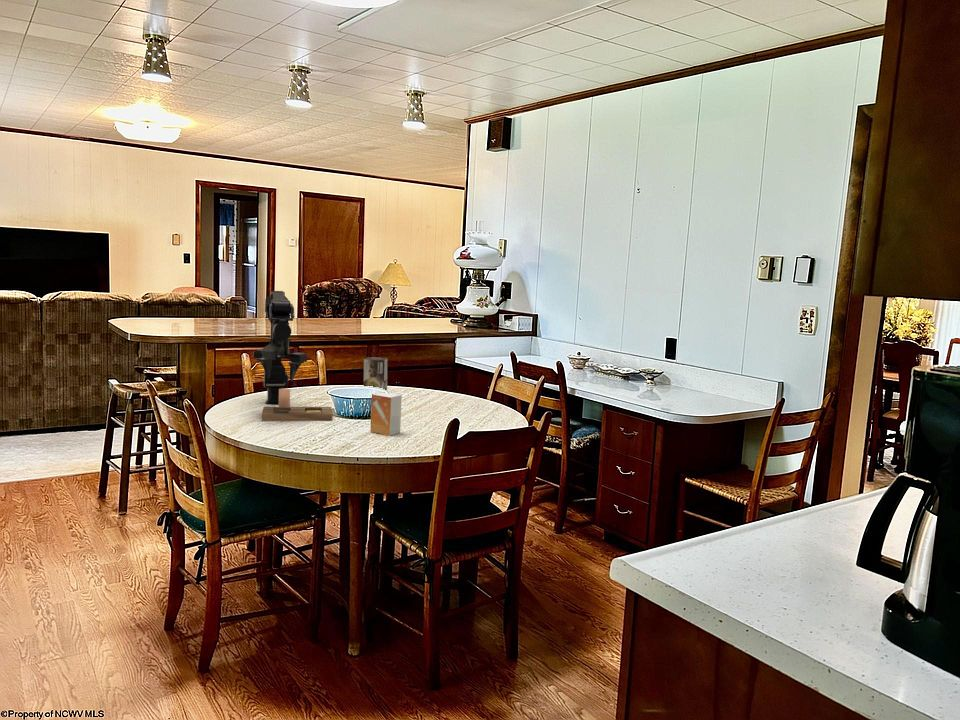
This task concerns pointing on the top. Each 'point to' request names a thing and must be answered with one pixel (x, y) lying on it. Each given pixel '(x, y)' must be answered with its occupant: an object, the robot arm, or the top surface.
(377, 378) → the coffee box
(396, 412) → the small box
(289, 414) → the socket board
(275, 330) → the robot arm
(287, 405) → the plug
